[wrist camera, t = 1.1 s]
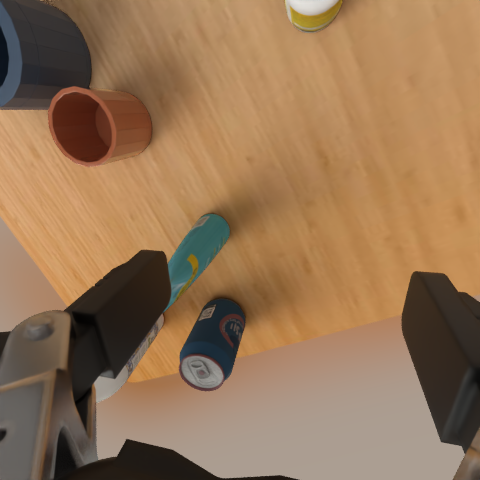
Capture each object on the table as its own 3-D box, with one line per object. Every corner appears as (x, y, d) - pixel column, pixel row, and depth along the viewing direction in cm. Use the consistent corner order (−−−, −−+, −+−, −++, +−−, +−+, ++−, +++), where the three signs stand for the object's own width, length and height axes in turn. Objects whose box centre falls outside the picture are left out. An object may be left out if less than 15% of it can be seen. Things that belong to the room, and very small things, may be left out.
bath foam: (164, 300, 49) (80, 412, 31) (166, 334, 51) (90, 455, 33) (124, 293, 50) (21, 398, 32) (128, 327, 53) (36, 440, 35)
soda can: (254, 325, 47) (238, 390, 36) (216, 335, 49) (190, 398, 38) (235, 289, 45) (212, 346, 34) (196, 301, 47) (163, 358, 37)
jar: (-6, 17, 36) (-108, -13, 27) (71, -9, 34) (-15, -51, 25) (32, 115, 41) (-46, 117, 32) (103, 100, 38) (40, 97, 29)
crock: (87, 97, 38) (36, 94, 31) (142, 85, 36) (101, 79, 29) (107, 160, 41) (64, 170, 34) (159, 151, 39) (125, 161, 32)
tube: (217, 258, 43) (159, 356, 26) (188, 241, 43) (109, 329, 26) (240, 215, 40) (190, 296, 23) (208, 198, 40) (134, 265, 23)
